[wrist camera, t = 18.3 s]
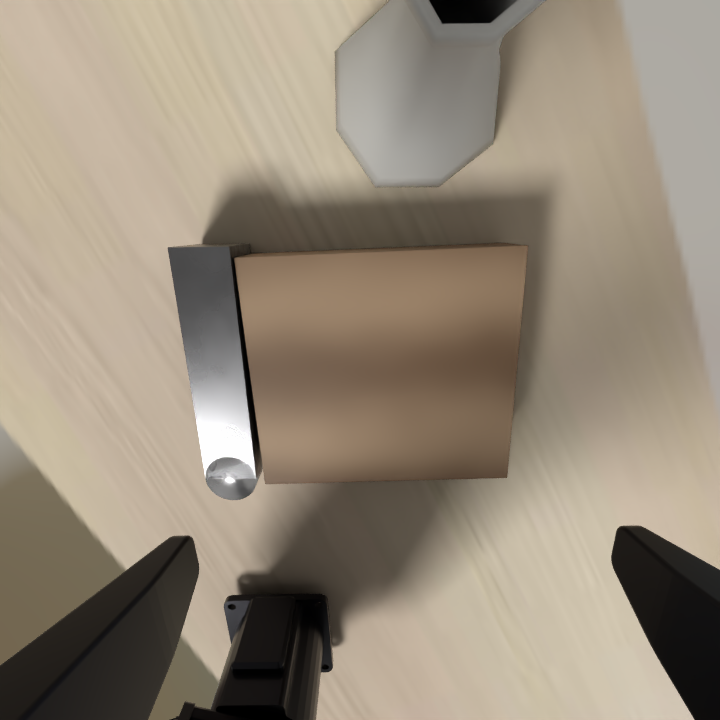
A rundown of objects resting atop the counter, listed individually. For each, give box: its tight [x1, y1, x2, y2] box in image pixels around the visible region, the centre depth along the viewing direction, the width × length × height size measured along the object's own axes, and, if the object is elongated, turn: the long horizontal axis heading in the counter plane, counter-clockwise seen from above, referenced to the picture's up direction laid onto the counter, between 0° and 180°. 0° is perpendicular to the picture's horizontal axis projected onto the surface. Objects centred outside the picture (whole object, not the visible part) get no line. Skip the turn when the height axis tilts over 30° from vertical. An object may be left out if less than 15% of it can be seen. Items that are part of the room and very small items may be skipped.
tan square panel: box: [234, 243, 528, 484], centre depth 19 cm, size 11×12×3 cm
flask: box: [335, 0, 546, 187], centre depth 12 cm, size 7×7×10 cm
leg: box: [168, 244, 263, 500], centre depth 19 cm, size 12×2×3 cm, turn 1°
